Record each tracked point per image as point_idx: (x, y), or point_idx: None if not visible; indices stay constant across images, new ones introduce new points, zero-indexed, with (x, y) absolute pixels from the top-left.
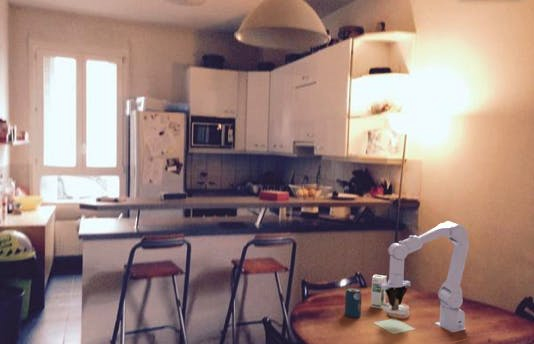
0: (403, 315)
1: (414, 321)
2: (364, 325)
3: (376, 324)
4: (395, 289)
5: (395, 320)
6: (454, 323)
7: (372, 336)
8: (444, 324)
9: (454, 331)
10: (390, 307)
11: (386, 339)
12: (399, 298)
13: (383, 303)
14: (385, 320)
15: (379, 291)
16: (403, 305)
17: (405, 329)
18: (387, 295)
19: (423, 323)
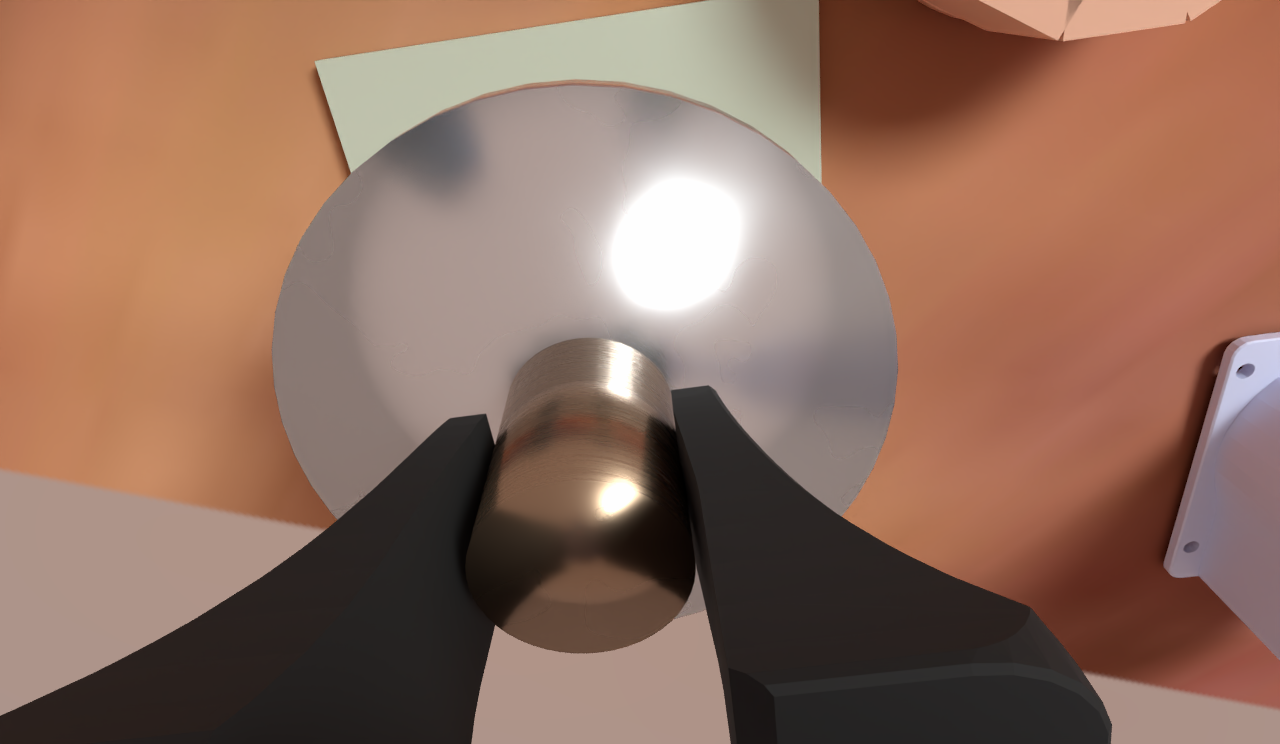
0: (1001, 30)
1: (1061, 167)
2: (137, 89)
3: (344, 146)
4: (721, 641)
5: (765, 82)
6: (1268, 644)
7: (157, 434)
8: (1239, 495)
9: (1192, 576)
10: (489, 386)
11: (307, 526)
12: (708, 590)
13: None
14: (587, 32)
15: None
16: (892, 345)
17: None
18: (284, 570)
19: (1117, 268)
